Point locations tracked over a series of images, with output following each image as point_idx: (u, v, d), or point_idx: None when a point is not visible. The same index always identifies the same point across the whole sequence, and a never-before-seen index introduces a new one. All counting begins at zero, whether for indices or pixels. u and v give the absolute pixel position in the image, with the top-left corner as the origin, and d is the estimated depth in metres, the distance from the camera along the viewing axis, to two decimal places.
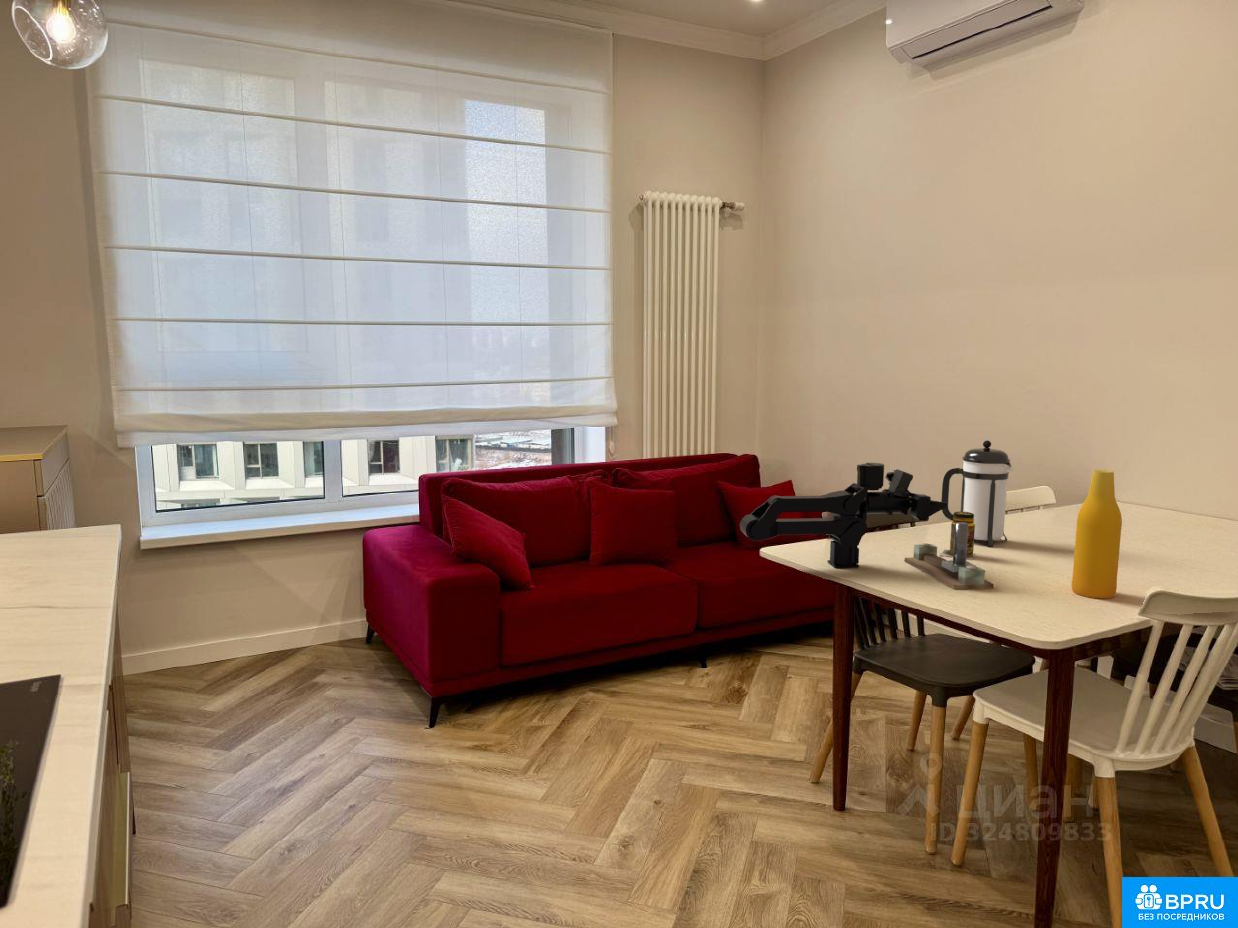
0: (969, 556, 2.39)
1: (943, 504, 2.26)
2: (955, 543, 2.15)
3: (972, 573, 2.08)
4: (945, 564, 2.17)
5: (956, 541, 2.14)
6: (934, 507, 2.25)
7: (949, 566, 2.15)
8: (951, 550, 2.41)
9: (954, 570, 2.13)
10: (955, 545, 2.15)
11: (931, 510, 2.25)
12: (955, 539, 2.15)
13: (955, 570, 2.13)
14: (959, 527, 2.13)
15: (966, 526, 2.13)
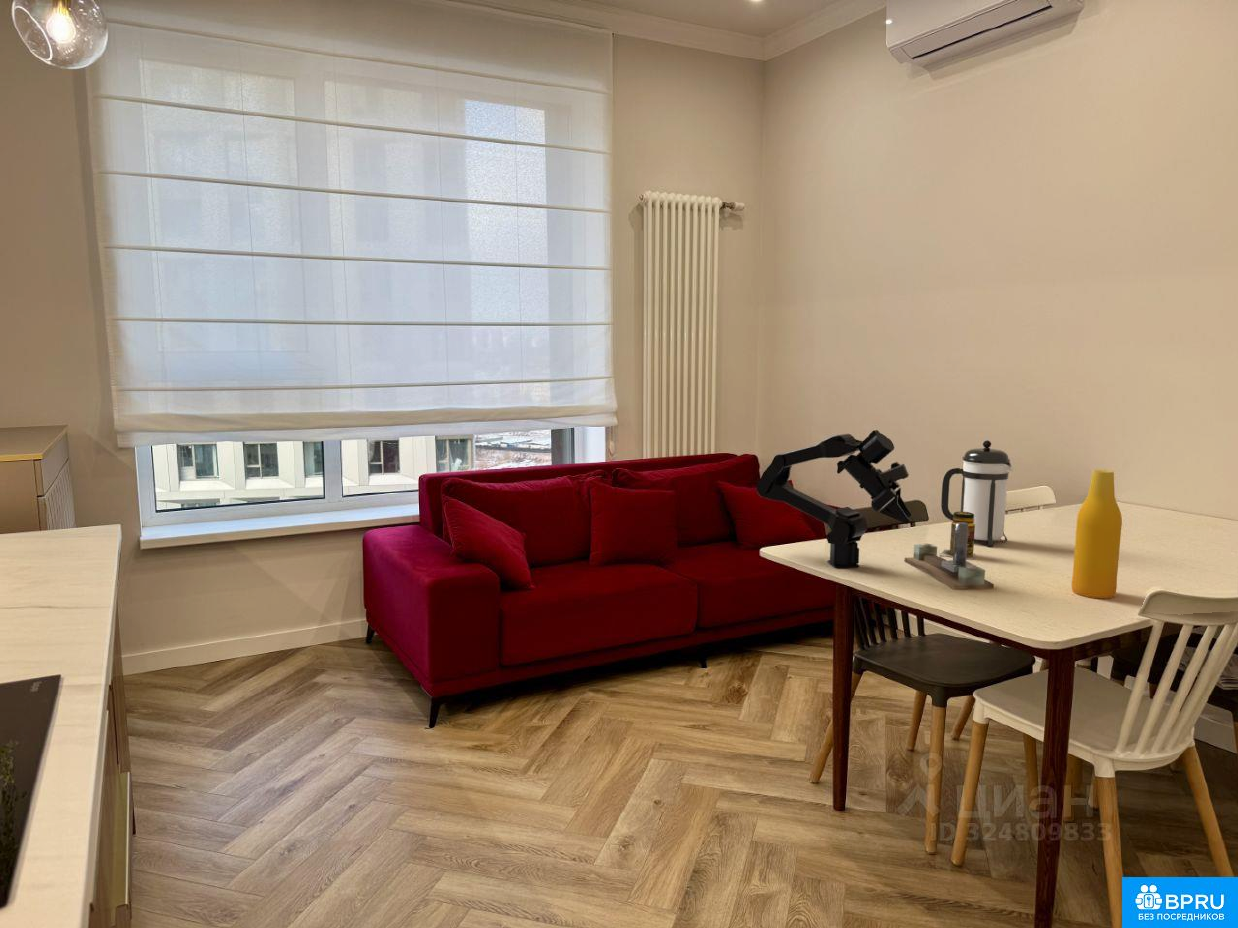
0: (969, 556, 2.39)
1: (905, 519, 2.17)
2: (955, 543, 2.15)
3: (972, 573, 2.08)
4: (945, 564, 2.17)
5: (956, 541, 2.14)
6: (895, 513, 2.17)
7: (949, 566, 2.15)
8: (951, 550, 2.41)
9: (954, 570, 2.13)
10: (955, 545, 2.15)
11: (890, 512, 2.17)
12: (955, 539, 2.15)
13: (955, 570, 2.13)
14: (959, 527, 2.13)
15: (966, 526, 2.13)
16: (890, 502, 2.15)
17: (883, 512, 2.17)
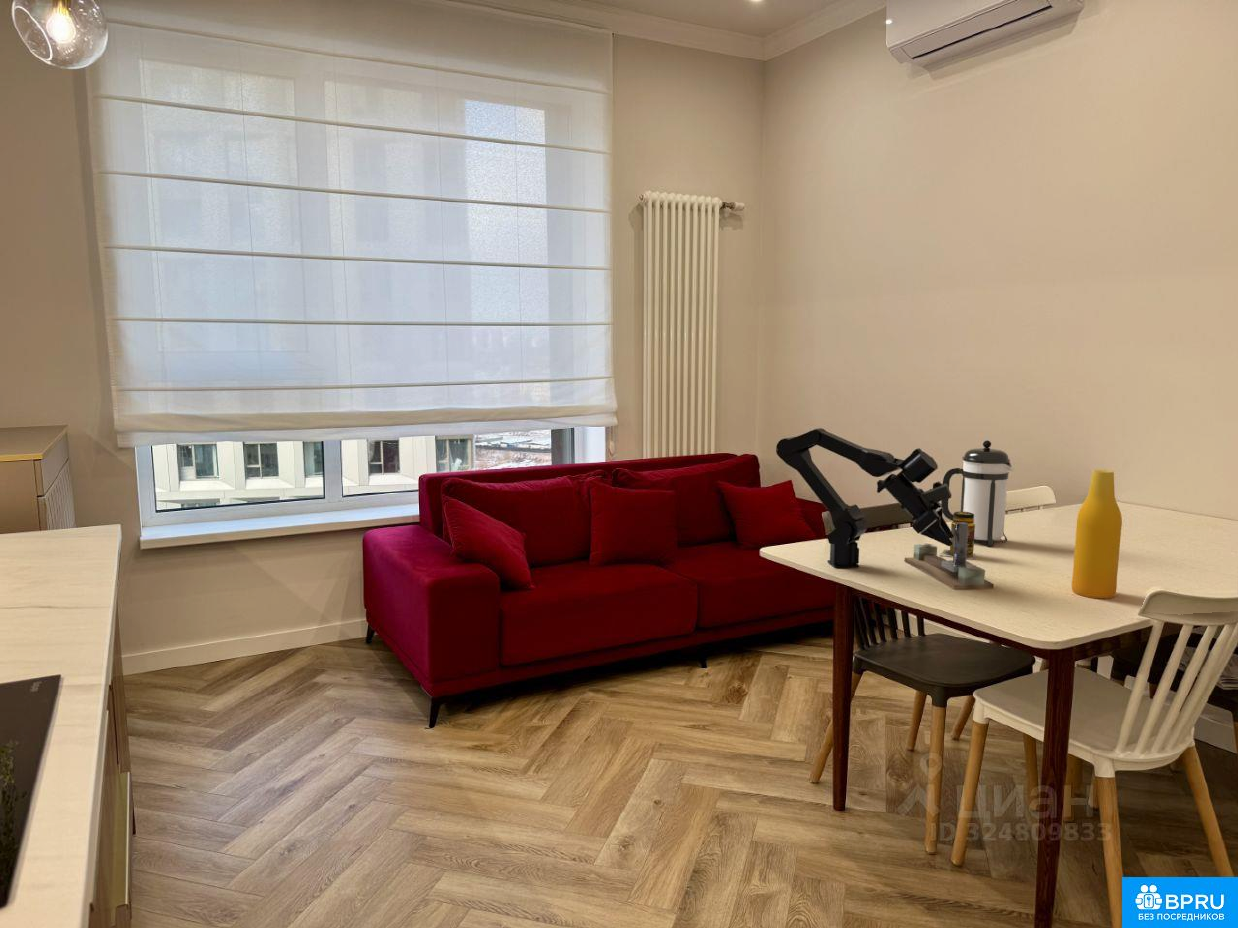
0: (969, 556, 2.39)
1: (948, 541, 2.11)
2: (955, 543, 2.15)
3: (972, 573, 2.08)
4: (945, 564, 2.17)
5: (956, 541, 2.14)
6: (937, 535, 2.11)
7: (949, 566, 2.15)
8: (951, 550, 2.41)
9: (954, 570, 2.13)
10: (955, 545, 2.15)
11: (932, 534, 2.11)
12: (955, 539, 2.15)
13: (955, 570, 2.13)
14: (959, 527, 2.13)
15: (966, 526, 2.13)
16: (932, 524, 2.09)
17: (925, 534, 2.12)
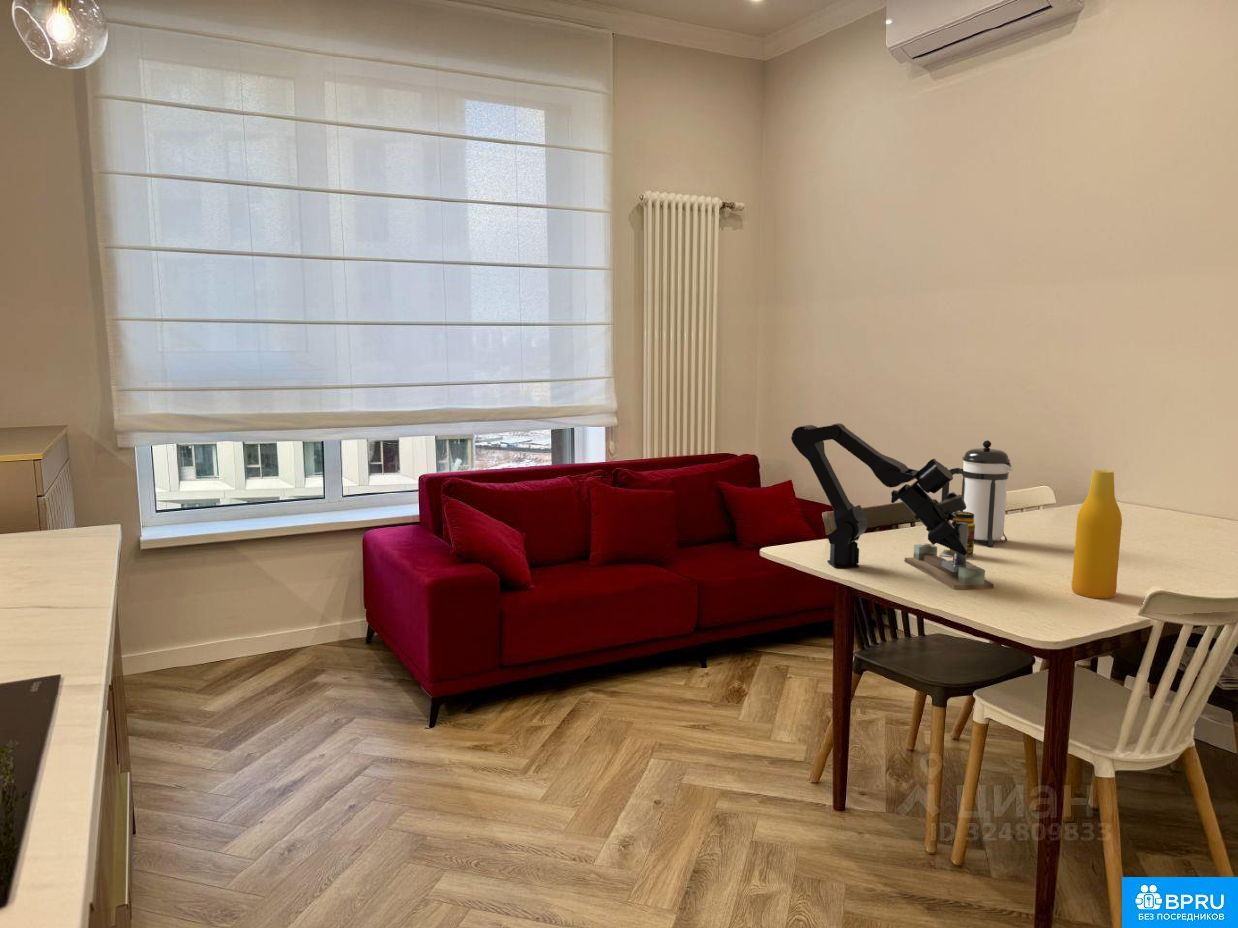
0: (969, 556, 2.39)
1: (963, 550, 2.13)
2: None
3: (972, 573, 2.08)
4: (945, 564, 2.17)
5: None
6: (952, 544, 2.13)
7: (949, 566, 2.15)
8: (951, 550, 2.41)
9: (954, 570, 2.13)
10: None
11: (948, 542, 2.13)
12: None
13: (955, 570, 2.13)
14: (959, 527, 2.13)
15: (966, 526, 2.13)
16: (948, 533, 2.11)
17: (940, 542, 2.13)
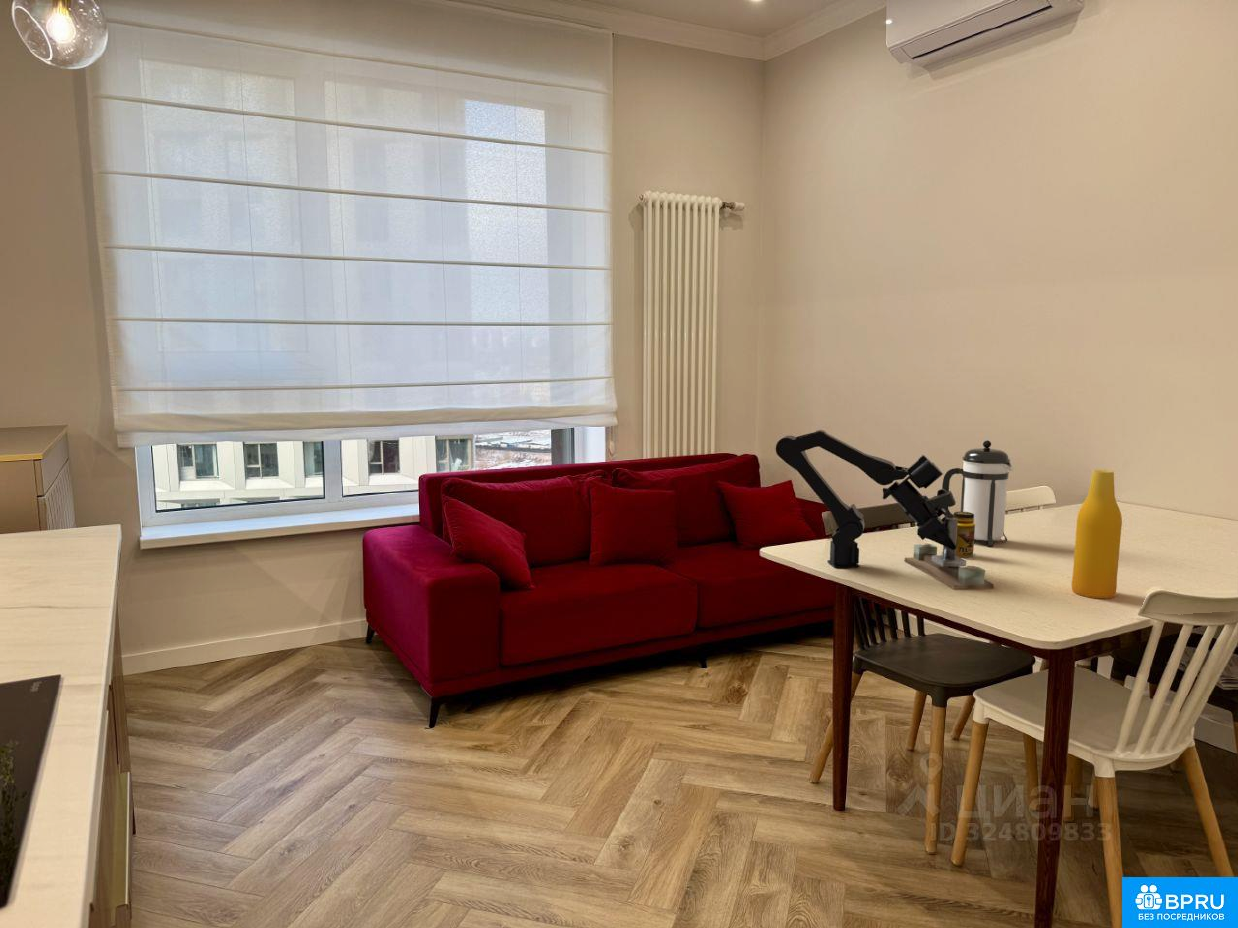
0: (969, 556, 2.39)
1: (952, 545, 2.18)
2: None
3: (972, 573, 2.08)
4: (935, 559, 2.22)
5: None
6: (942, 539, 2.18)
7: (939, 561, 2.20)
8: None
9: (944, 565, 2.18)
10: None
11: (937, 538, 2.18)
12: None
13: (945, 565, 2.18)
14: (948, 522, 2.19)
15: (955, 522, 2.18)
16: (937, 528, 2.16)
17: (930, 538, 2.19)
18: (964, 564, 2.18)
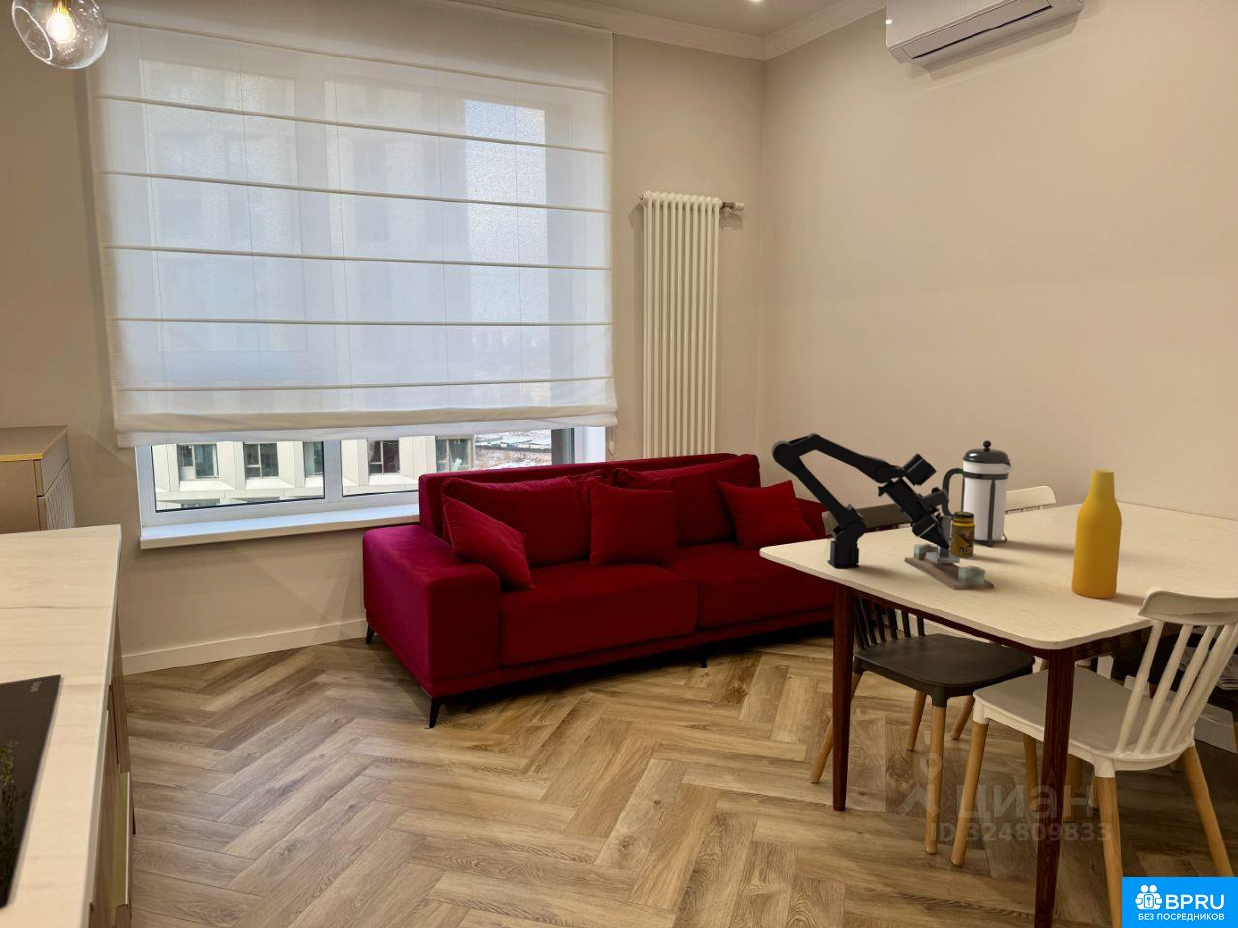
0: (969, 556, 2.39)
1: (945, 545, 2.19)
2: None
3: (972, 573, 2.08)
4: (929, 556, 2.25)
5: None
6: (935, 538, 2.19)
7: (933, 558, 2.23)
8: (951, 550, 2.41)
9: (938, 561, 2.21)
10: None
11: (931, 537, 2.19)
12: None
13: (938, 561, 2.21)
14: (942, 520, 2.22)
15: (949, 519, 2.21)
16: (931, 528, 2.17)
17: (923, 537, 2.19)
18: (958, 561, 2.22)
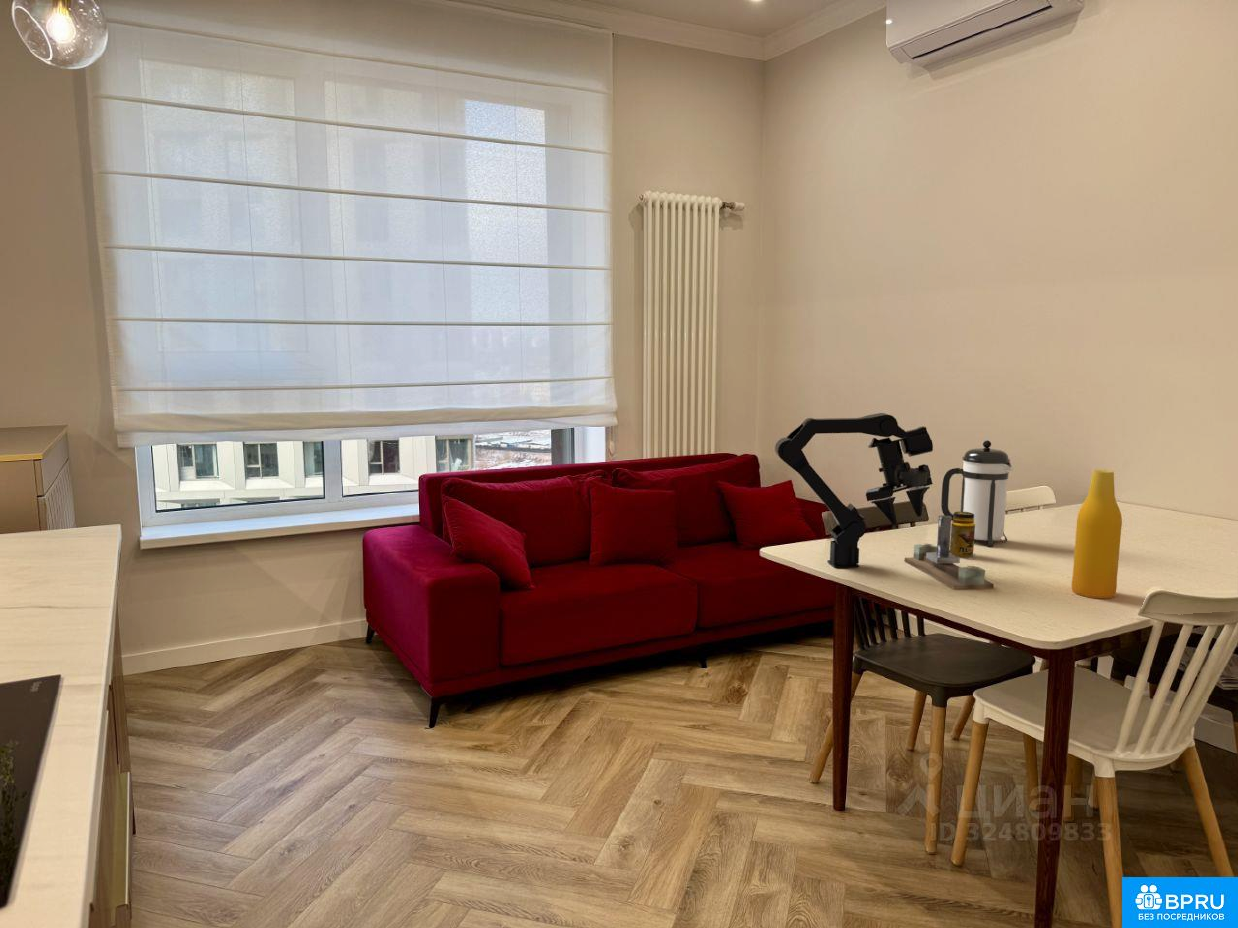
0: (969, 556, 2.39)
1: (892, 520, 2.23)
2: (938, 535, 2.23)
3: (972, 573, 2.08)
4: (929, 556, 2.25)
5: (939, 534, 2.23)
6: (886, 510, 2.23)
7: (933, 558, 2.23)
8: (951, 550, 2.41)
9: (938, 561, 2.21)
10: (939, 537, 2.23)
11: (882, 507, 2.23)
12: (939, 532, 2.23)
13: (938, 561, 2.21)
14: (942, 520, 2.22)
15: (949, 519, 2.21)
16: (881, 500, 2.21)
17: (876, 504, 2.24)
18: (958, 561, 2.22)
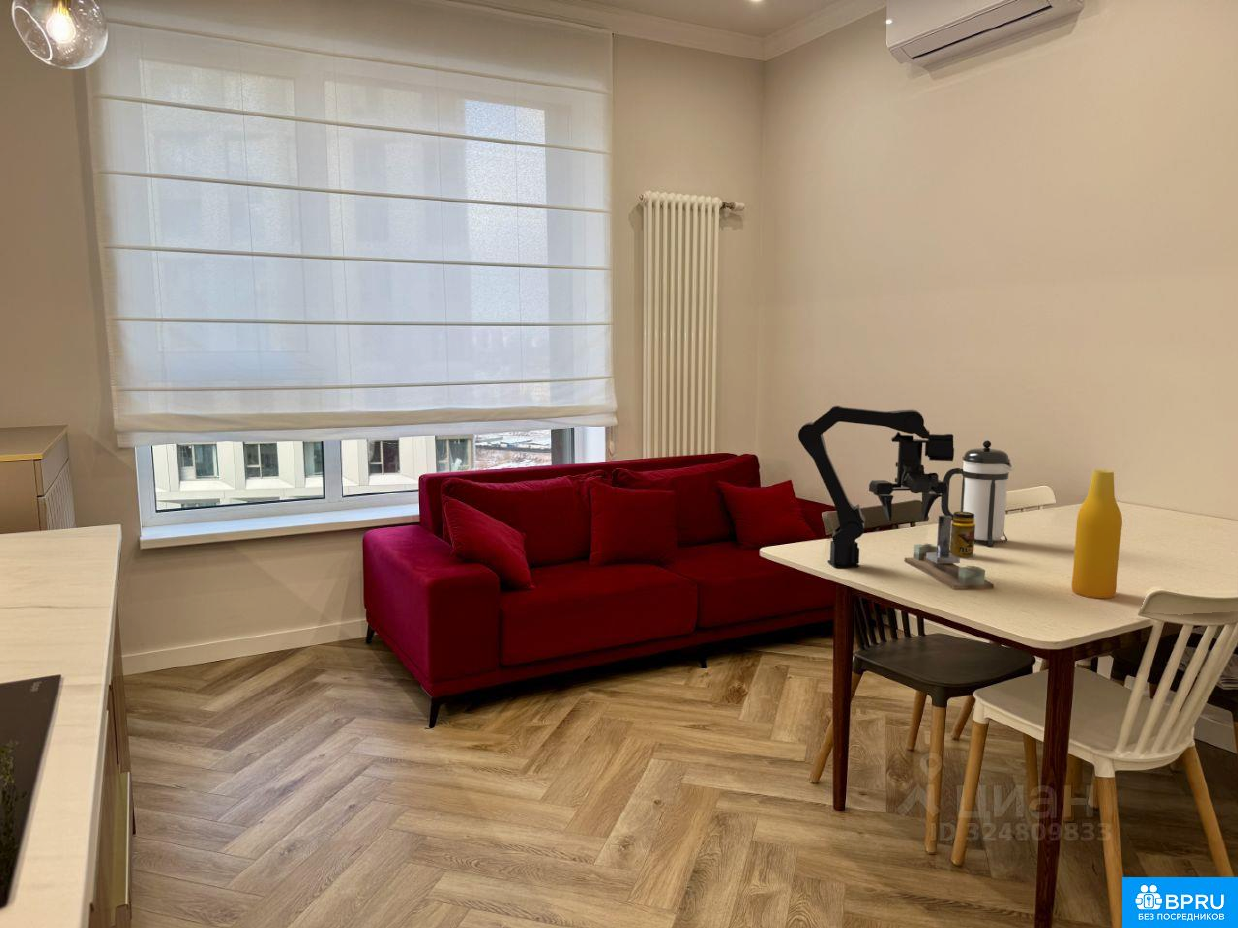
0: (969, 556, 2.39)
1: (887, 516, 2.24)
2: (938, 535, 2.23)
3: (972, 573, 2.08)
4: (929, 556, 2.25)
5: (939, 534, 2.23)
6: (884, 505, 2.24)
7: (933, 558, 2.23)
8: (951, 550, 2.41)
9: (938, 561, 2.21)
10: (939, 537, 2.23)
11: (883, 501, 2.24)
12: (939, 532, 2.23)
13: (938, 561, 2.21)
14: (942, 520, 2.22)
15: (949, 519, 2.21)
16: (879, 495, 2.22)
17: (878, 495, 2.25)
18: (958, 561, 2.22)
